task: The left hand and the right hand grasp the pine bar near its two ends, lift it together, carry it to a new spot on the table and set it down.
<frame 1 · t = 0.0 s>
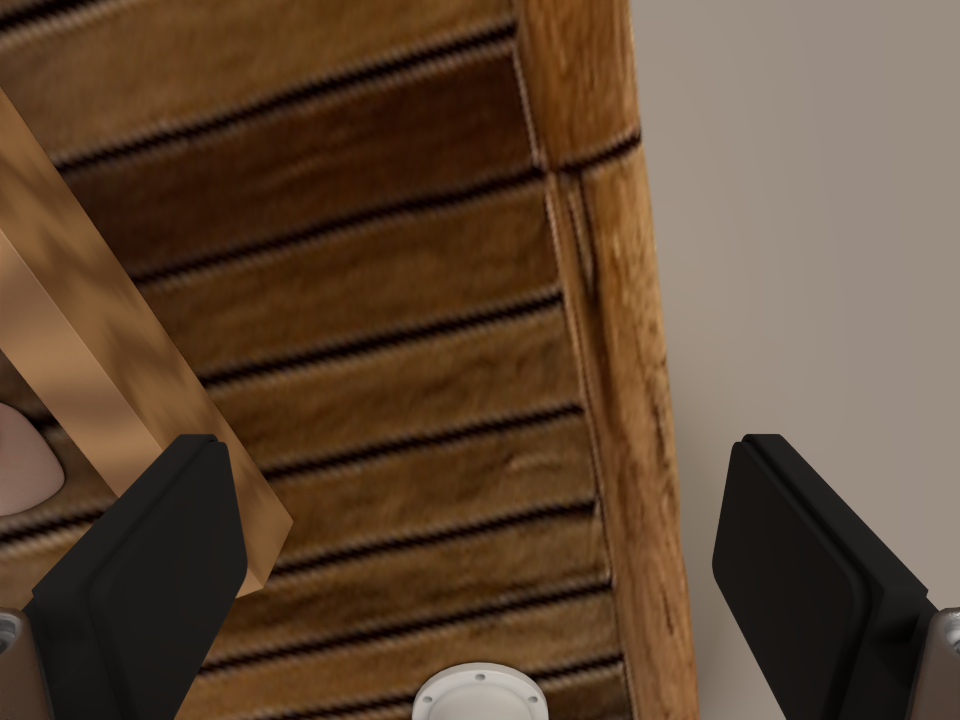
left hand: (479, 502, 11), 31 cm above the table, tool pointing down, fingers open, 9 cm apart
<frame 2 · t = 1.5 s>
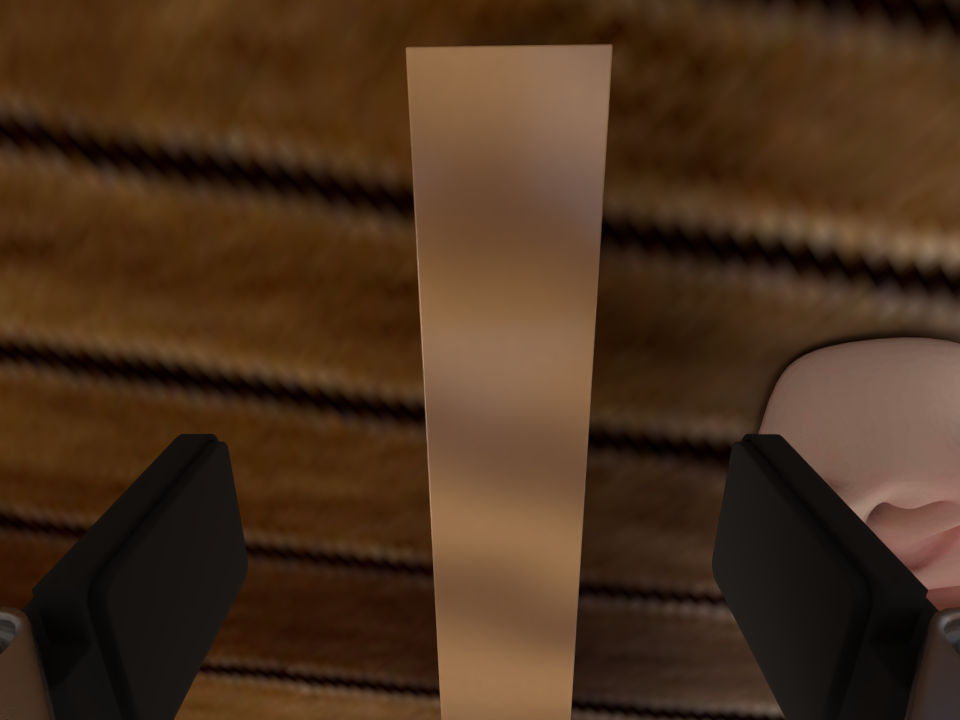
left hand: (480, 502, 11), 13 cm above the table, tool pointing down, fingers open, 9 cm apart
anatomical model: (883, 463, 27), on the table
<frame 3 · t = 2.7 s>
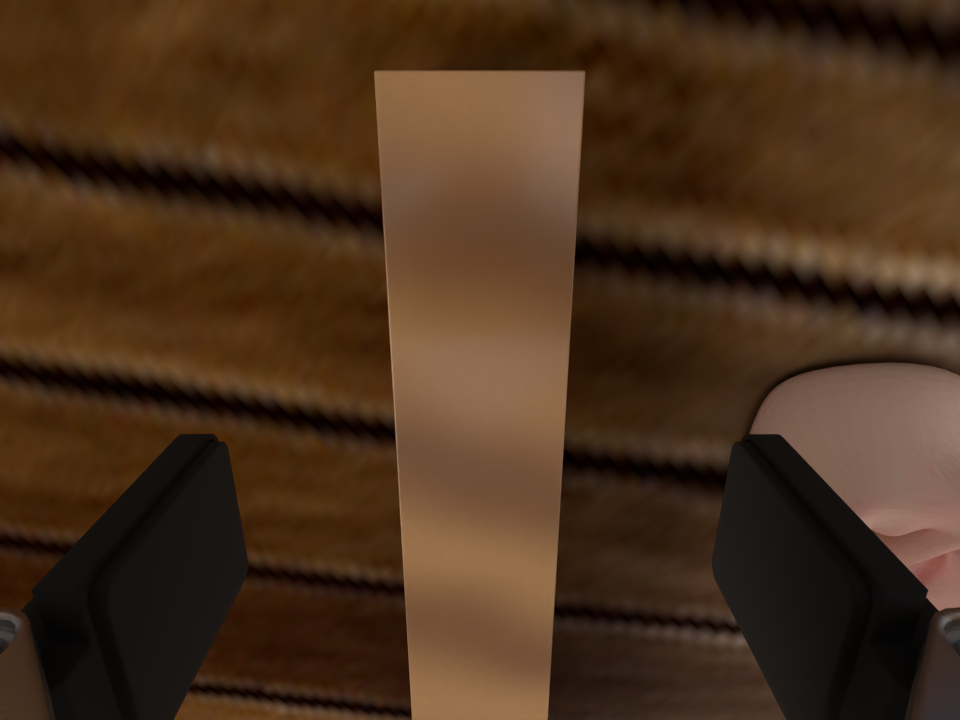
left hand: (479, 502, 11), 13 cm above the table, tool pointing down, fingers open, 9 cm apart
anatomical model: (868, 488, 26), on the table
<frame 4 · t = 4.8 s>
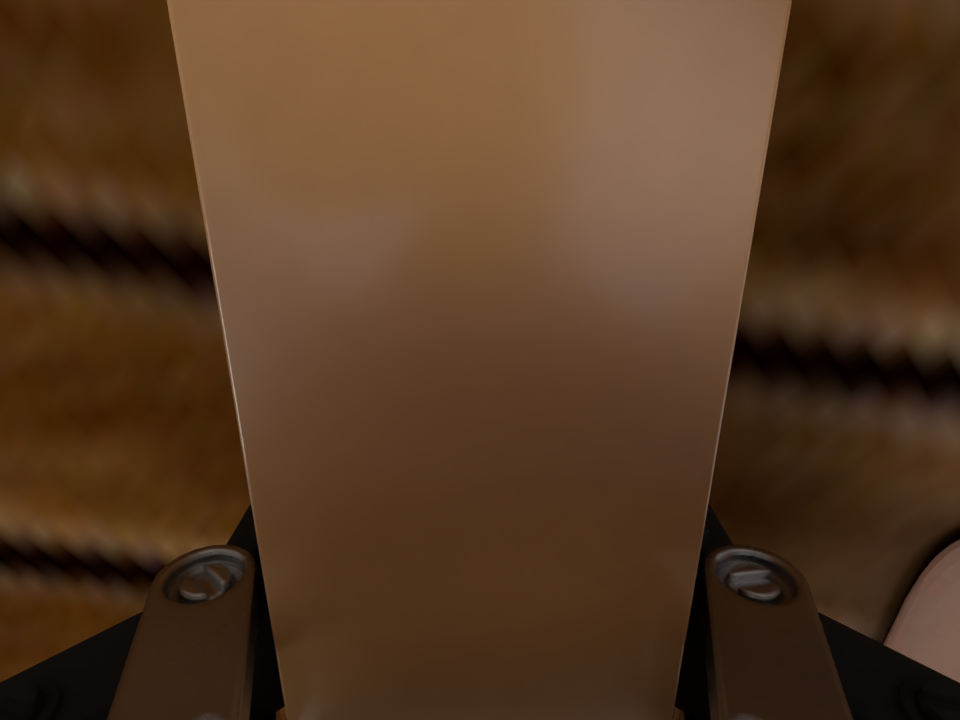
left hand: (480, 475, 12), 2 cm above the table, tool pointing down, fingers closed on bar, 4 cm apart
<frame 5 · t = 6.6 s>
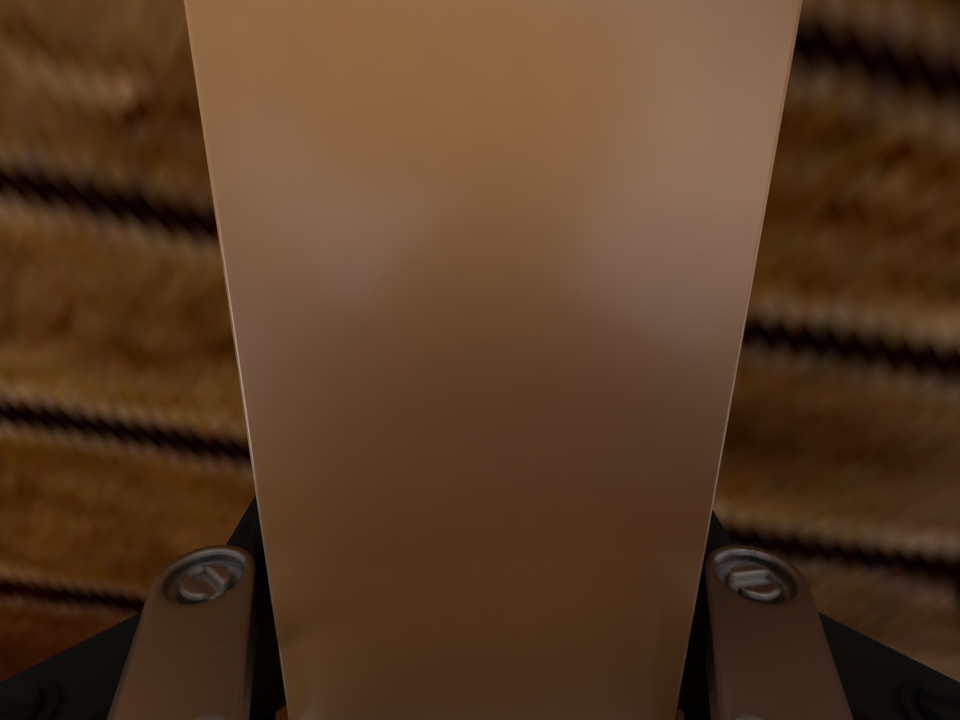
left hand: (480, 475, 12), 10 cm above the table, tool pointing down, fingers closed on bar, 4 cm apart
when the left hand's fingers open (4 cm above the table, at t = 8.5 s): bar drops 1 cm, on the table.
when the right hand's fingers open (4 cm above the table, at t = 8.5 s): bar drops 1 cm, on the table.
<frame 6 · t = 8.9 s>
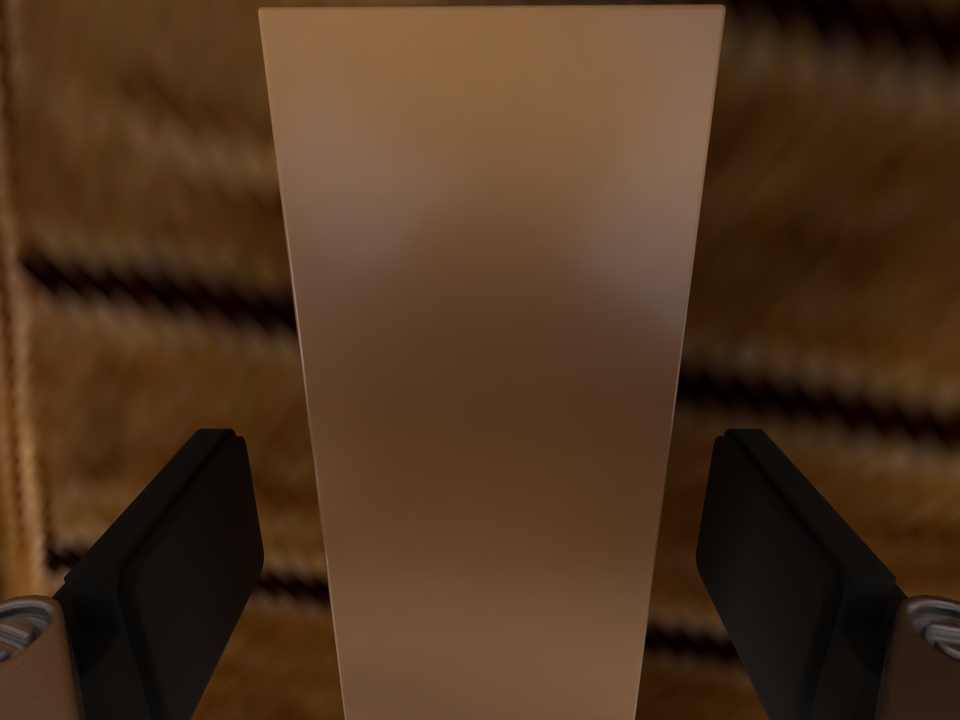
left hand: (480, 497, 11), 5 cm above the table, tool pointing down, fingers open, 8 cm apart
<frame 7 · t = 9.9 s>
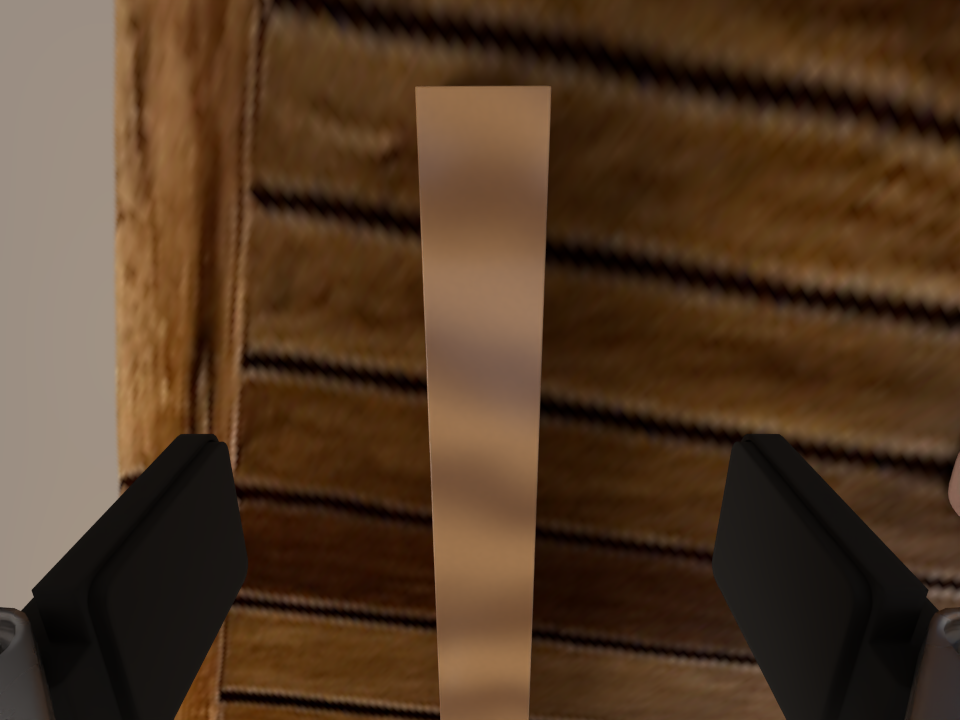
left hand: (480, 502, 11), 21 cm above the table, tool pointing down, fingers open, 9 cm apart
bar: (483, 678, 41), on the table
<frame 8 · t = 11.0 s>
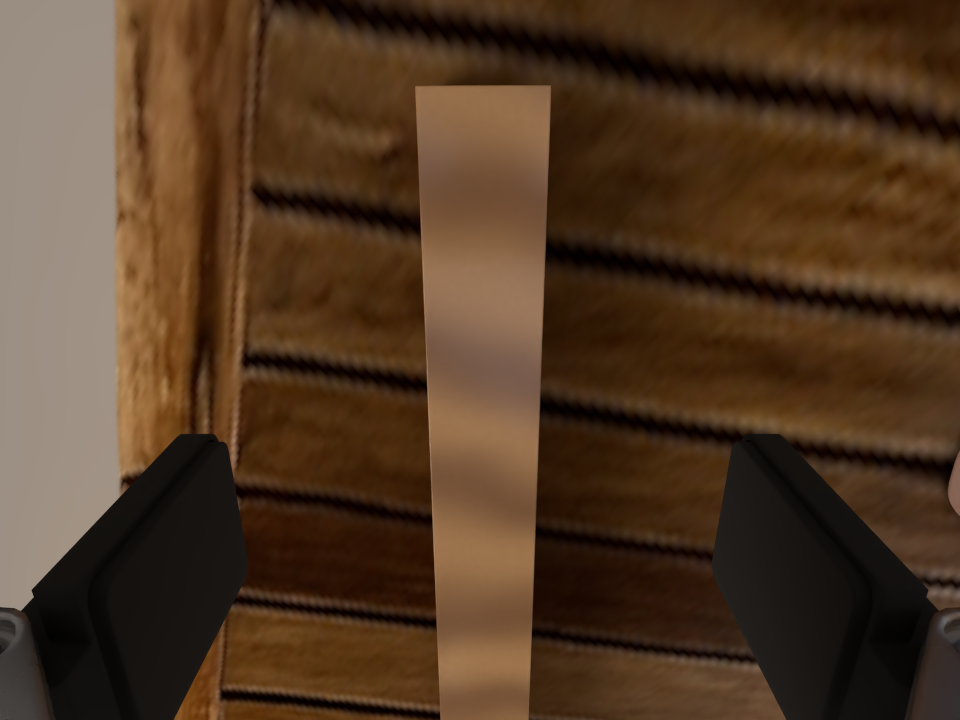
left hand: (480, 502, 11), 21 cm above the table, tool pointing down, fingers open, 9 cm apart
bar: (483, 677, 41), on the table
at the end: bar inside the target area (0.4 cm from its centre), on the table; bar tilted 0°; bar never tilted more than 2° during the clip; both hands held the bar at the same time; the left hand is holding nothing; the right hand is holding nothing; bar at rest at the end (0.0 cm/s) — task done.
